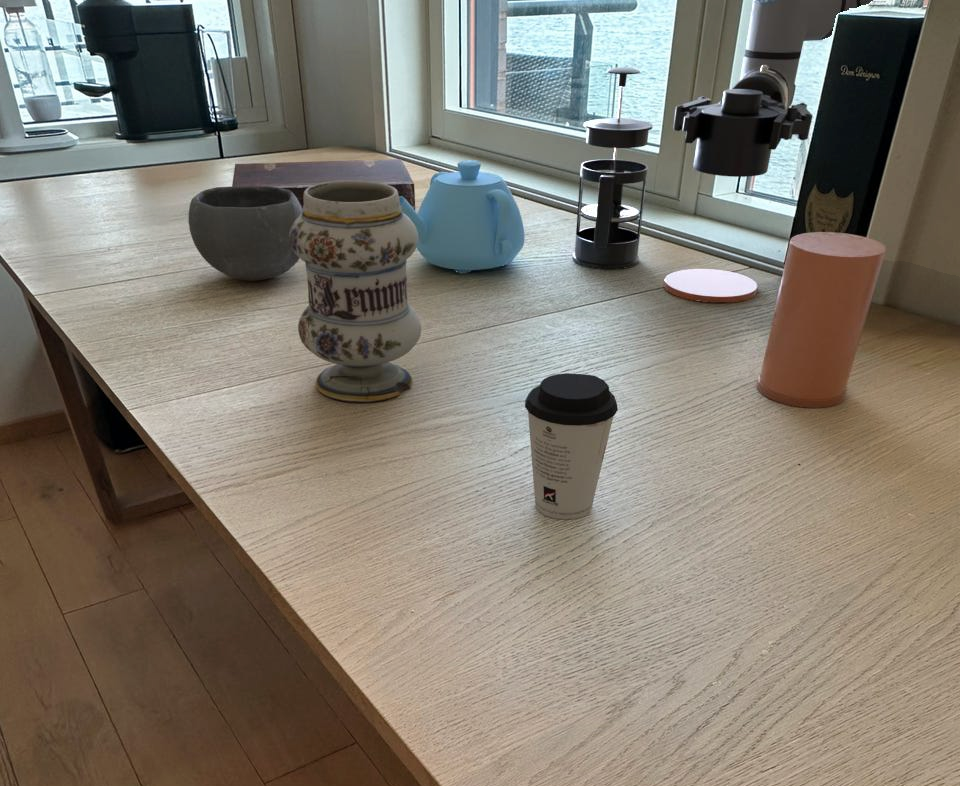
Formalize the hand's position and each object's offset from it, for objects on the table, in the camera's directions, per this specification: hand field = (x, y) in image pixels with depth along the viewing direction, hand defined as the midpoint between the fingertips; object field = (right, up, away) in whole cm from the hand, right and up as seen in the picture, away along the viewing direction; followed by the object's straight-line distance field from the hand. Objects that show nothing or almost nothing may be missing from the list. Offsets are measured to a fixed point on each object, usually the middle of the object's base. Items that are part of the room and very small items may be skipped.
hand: (731, 132), depth 98 cm
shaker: (+4, -33, -11) cm, 34 cm away
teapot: (-32, -5, +23) cm, 40 cm away
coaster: (+2, -12, +15) cm, 19 cm away
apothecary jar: (-41, -32, -10) cm, 53 cm away
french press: (-11, -4, +25) cm, 27 cm away
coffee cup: (-22, -47, -29) cm, 59 cm away
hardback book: (-55, +17, +49) cm, 76 cm away
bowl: (-59, -9, +18) cm, 62 cm away
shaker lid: (+2, -1, +6) cm, 6 cm away
